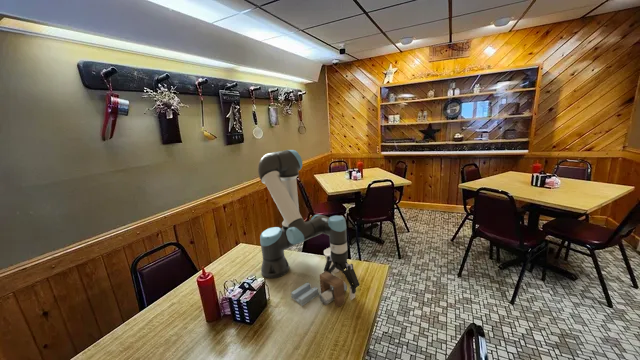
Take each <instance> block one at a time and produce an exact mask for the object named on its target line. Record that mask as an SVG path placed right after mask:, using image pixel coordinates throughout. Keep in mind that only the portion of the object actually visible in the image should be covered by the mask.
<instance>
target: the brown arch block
mask: <svg viewBox="0 0 640 360" xmlns="http://www.w3.org/2000/svg"><path fill="white" fill-rule="evenodd" d="M344 282H345V281H344V280H343V279H342V278H340V277H338V276H336V275H334V273H333V274H331V273H329V272H327V271H325V272H324V271H323V272H322V273H320V274H319V283H320V284H319V287H320V294H322V293H323V292H325V291H326V290H327V289H329V288H330V285H332V286H333V287H334V297H335V299H334V305H335V306H336V307H338V308H340V307H341V306H343V305H344V304H345V303H346V299H345V292H344Z"/></svg>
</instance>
